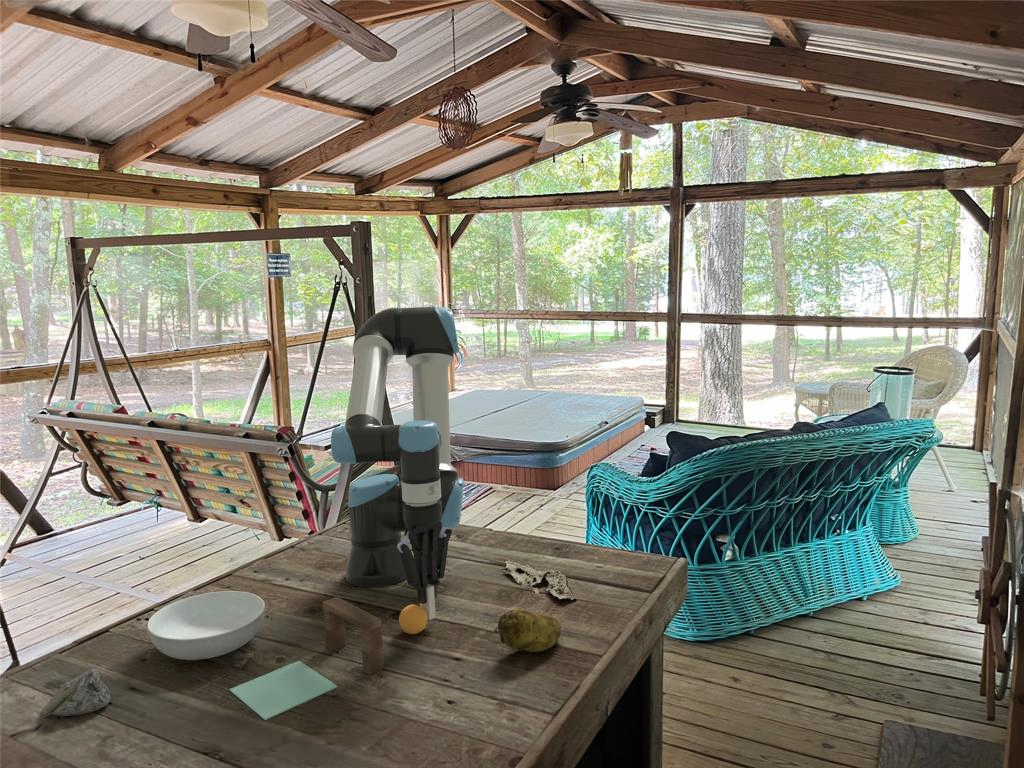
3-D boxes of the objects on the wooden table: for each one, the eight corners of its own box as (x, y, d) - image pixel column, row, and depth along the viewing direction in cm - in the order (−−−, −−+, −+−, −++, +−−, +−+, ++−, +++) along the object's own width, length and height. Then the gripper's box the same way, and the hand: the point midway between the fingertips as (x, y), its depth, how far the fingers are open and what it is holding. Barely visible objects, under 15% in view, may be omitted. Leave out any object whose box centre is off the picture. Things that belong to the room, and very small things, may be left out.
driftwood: (595, 581, 160) (584, 565, 159) (568, 619, 155) (557, 603, 153) (520, 561, 180) (510, 547, 178) (494, 594, 175) (483, 580, 173)
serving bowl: (152, 686, 128) (148, 649, 127) (148, 638, 147) (145, 605, 146) (276, 655, 138) (273, 620, 137) (258, 613, 156) (255, 582, 155)
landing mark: (229, 690, 126) (229, 689, 126) (299, 661, 135) (298, 660, 135) (265, 720, 117) (265, 719, 117) (337, 687, 126) (337, 686, 126)
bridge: (369, 675, 129) (366, 625, 128) (326, 648, 140) (322, 601, 138) (383, 668, 131) (380, 619, 130) (339, 642, 142) (336, 596, 141)
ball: (402, 634, 147) (388, 617, 144) (420, 611, 149) (406, 595, 146) (419, 643, 143) (405, 627, 140) (437, 620, 145) (424, 604, 142)
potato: (572, 653, 135) (571, 611, 134) (505, 666, 131) (503, 623, 130) (556, 633, 143) (555, 593, 142) (492, 645, 139) (490, 604, 138)
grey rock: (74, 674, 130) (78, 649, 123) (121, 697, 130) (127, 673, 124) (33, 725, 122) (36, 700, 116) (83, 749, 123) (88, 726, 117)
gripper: (407, 512, 137) (414, 633, 140) (459, 496, 146) (465, 610, 149) (383, 505, 142) (390, 622, 145) (434, 490, 151) (440, 601, 154)
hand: (428, 616), depth 147 cm, fingers closed
